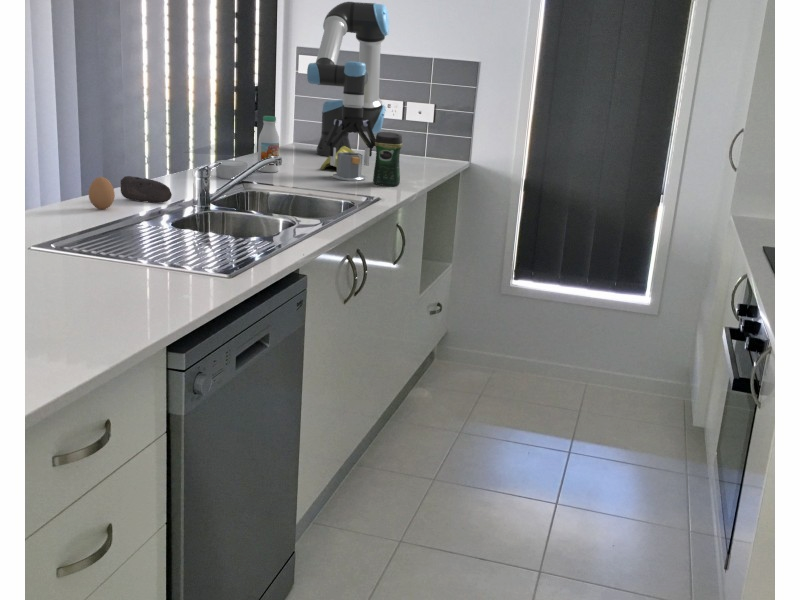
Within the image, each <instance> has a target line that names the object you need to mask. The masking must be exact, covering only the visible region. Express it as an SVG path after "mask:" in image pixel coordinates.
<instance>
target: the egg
mask: <svg viewBox="0 0 800 600" xmlns="http://www.w3.org/2000/svg"><path fill="white" fill-rule="evenodd" d="M115 198H116V197H115V189H114V186H113V185H112V183H111V182H110V180H109V179H107V178H106V177H103V176H100V177H99V176H98V177H96V178H95V179H94V180H93V181H92V182H91V183H90V186H89V187H88V199H89V201H90V202H89V203H91V204H92V205H93V206H94V207H95V208H96V209H97V210H106V208H107V209H108V208H110V207H111V206H112V205H113V203H114V201H115Z"/></svg>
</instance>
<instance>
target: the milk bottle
mask: <svg viewBox="0 0 800 600" xmlns="http://www.w3.org/2000/svg"><path fill="white" fill-rule="evenodd" d="M262 123H263V124H262V125H263V126H262V129H261V131H260V133H259V136H258V142H257V145H258V146H257V162H258V161H260V160H262V159H265V158H268V157H271V156H279V157H280V137H279V134H278V131H277V128H276V124H277V117H276V116H274V115H263V117H262ZM279 167H280V166H276V165H274V164H269V165H266V166H265V167H263V168H261V169H260V170H258V169H257V171H259V172H263V173H278V172H279V169H280V168H279Z"/></svg>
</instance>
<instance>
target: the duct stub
mask: <svg viewBox="0 0 800 600" xmlns="http://www.w3.org/2000/svg"><path fill="white" fill-rule="evenodd" d="M336 174H337V173H333V174H332V178H333V179H334V178H335V180H338V181H343V180H344V182H345V181H346V182H363V181H365V180H366V176H365V175H363V174H361V177H359V178H345V177H339V176H337V175H336Z"/></svg>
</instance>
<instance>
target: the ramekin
mask: <svg viewBox="0 0 800 600" xmlns="http://www.w3.org/2000/svg"><path fill="white" fill-rule="evenodd" d="M218 162H222V163H221V164H220V165H219V166H218V167H216V166H215V168H216V176H217V177H218V178H220V179H222V178H223V180H231V178H233V177H235V176H236V175H238V174H239V173H241V172H242V171H244V170H245V169H246V170H247V169H248V162H246V161H243V160H236V159H235V160H234V159H222V160H217V161H215V162H214V164H215V163H218Z"/></svg>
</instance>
